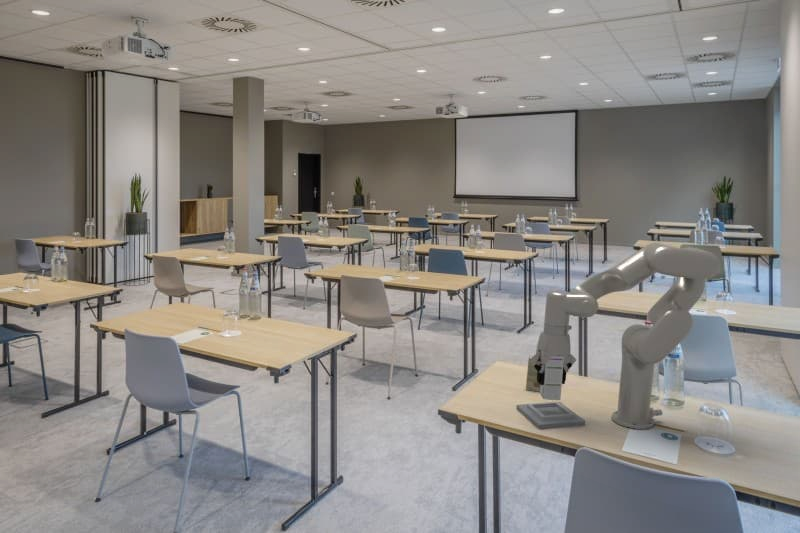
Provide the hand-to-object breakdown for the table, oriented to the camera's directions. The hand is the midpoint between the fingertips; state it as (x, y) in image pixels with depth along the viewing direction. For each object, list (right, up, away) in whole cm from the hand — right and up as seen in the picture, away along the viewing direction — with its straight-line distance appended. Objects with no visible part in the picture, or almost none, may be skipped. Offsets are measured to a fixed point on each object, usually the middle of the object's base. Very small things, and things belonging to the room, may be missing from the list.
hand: (550, 382), depth 188 cm
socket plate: (0, -11, +2) cm, 12 cm away
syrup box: (0, -5, +1) cm, 5 cm away
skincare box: (+1, -8, +26) cm, 28 cm away
